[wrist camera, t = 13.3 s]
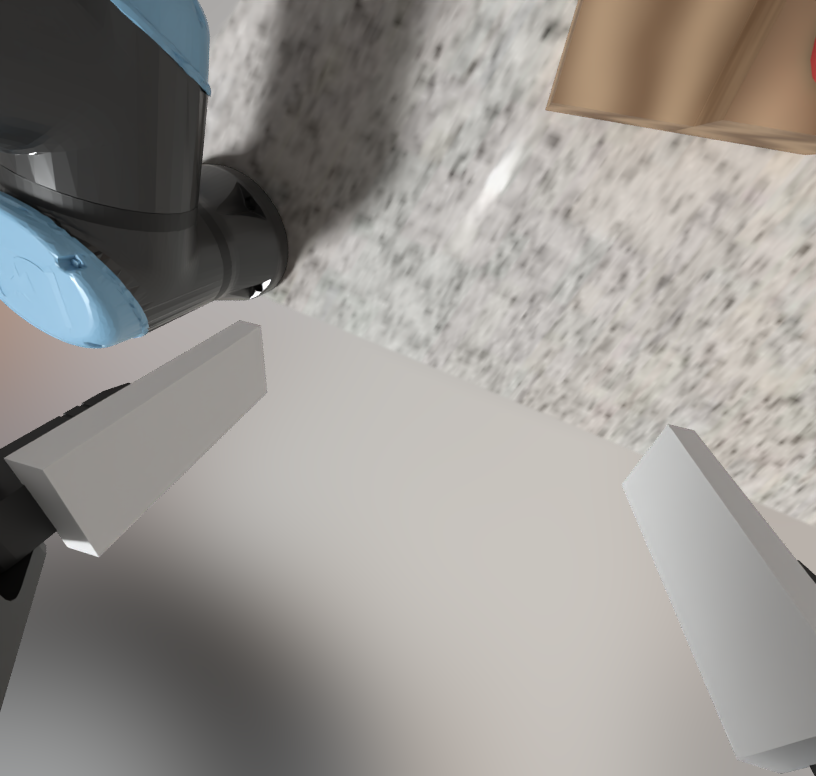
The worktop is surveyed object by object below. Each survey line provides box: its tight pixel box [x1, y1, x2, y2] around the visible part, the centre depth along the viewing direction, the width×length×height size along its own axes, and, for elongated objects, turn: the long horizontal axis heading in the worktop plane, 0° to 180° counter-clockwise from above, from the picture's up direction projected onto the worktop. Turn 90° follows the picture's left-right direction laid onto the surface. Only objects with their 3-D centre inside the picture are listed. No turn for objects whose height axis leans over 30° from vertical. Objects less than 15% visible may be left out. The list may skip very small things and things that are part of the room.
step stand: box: [546, 0, 816, 155], centre depth 23 cm, size 22×10×8 cm, turn 81°
